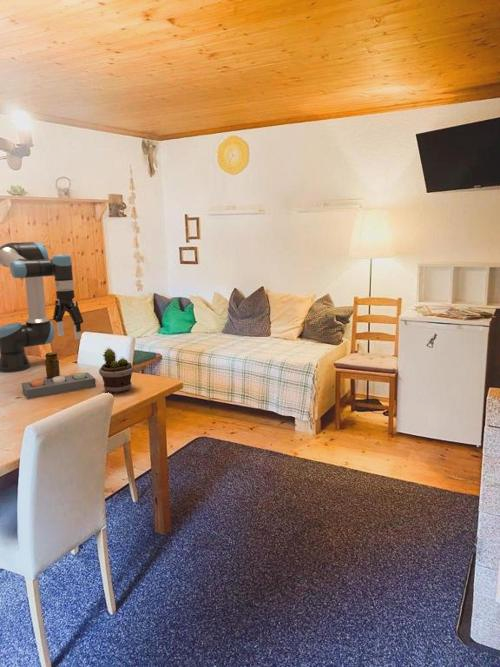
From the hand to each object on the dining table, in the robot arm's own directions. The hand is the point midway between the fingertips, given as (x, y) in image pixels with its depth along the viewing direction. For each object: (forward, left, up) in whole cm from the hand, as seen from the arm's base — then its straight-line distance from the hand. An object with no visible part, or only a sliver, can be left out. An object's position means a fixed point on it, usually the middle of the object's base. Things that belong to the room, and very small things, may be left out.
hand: (69, 337), depth 221 cm
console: (0, -6, -23) cm, 24 cm away
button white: (0, -6, -21) cm, 22 cm away
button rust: (0, -15, -21) cm, 26 cm away
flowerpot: (+17, +15, -23) cm, 32 cm away
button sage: (0, +3, -21) cm, 21 cm away
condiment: (-21, -4, -23) cm, 32 cm away
